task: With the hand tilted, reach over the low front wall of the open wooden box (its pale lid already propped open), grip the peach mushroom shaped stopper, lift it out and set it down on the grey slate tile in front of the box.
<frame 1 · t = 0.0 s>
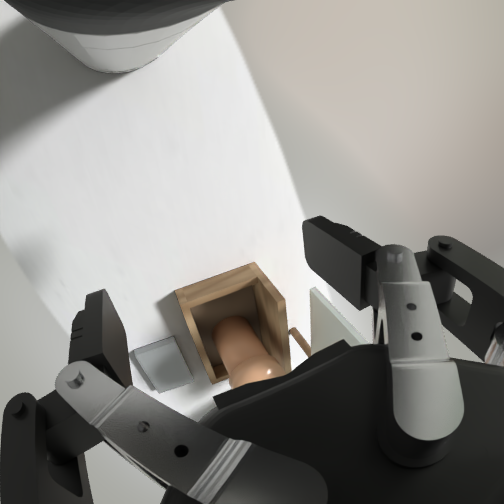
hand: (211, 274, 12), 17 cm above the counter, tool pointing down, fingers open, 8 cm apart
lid: (335, 364, 30), point 12 cm above the counter
tile: (164, 364, 36), on the counter
open wooden box: (227, 322, 37), on the counter
peach mushroom shaped stopper: (231, 331, 37), point 1 cm above the counter, touching open wooden box
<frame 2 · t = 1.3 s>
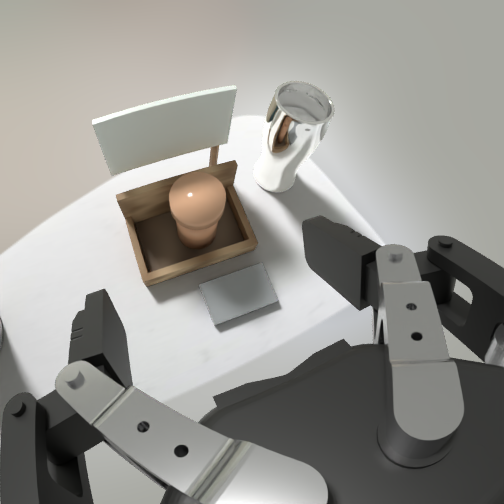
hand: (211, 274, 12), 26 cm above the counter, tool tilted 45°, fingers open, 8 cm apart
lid: (167, 131, 30), point 12 cm above the counter
tile: (238, 294, 38), on the counter
open wooden box: (189, 235, 39), on the counter
beer glass: (273, 175, 45), on the counter
peach mushroom shaped stopper: (196, 230, 39), point 1 cm above the counter, touching open wooden box
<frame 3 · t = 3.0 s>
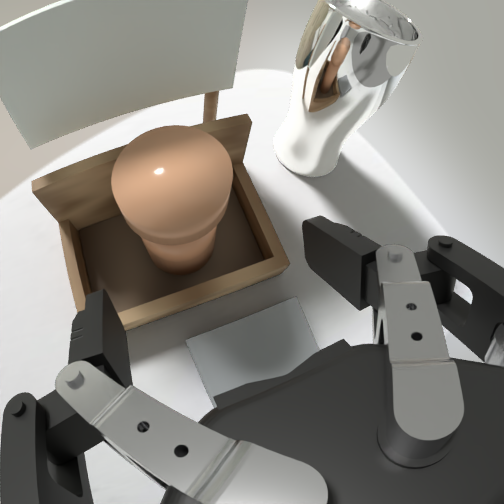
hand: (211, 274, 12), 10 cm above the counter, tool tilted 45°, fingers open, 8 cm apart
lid: (119, 55, 14), point 12 cm above the counter
tile: (254, 353, 21), on the counter
open wooden box: (167, 249, 22), on the counter
beer glass: (305, 150, 28), on the counter
peach mushroom shaped stopper: (180, 242, 22), point 1 cm above the counter, touching open wooden box
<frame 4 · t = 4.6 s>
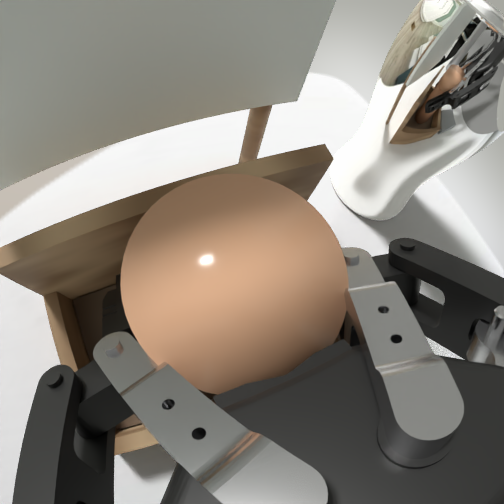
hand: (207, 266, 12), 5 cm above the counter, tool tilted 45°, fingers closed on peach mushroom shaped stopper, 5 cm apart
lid: (124, 39, 7), point 12 cm above the counter
open wooden box: (199, 329, 16), on the counter
beer glass: (367, 183, 21), on the counter
peach mushroom shaped stopper: (218, 321, 16), point 1 cm above the counter, touching open wooden box, gripper
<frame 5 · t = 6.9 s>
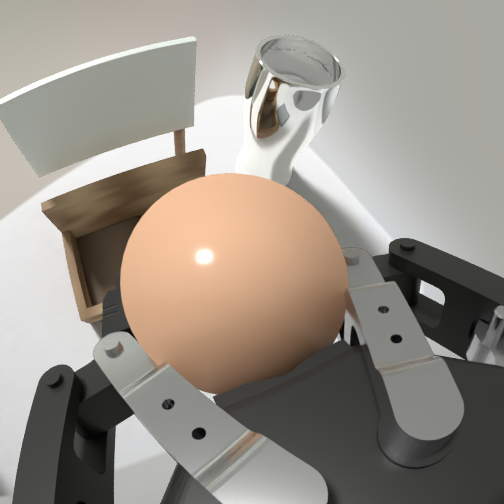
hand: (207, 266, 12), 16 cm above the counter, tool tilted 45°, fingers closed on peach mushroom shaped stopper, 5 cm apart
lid: (101, 110, 19), point 12 cm above the counter
open wooden box: (145, 253, 28), on the counter
beer glass: (262, 170, 33), on the counter
peach mushroom shaped stopper: (218, 321, 16), point 12 cm above the counter, touching gripper
when the fingers open (6 cm above the counter, at t = 9.1 s): peach mushroom shaped stopper drops 1 cm, resting on tile.
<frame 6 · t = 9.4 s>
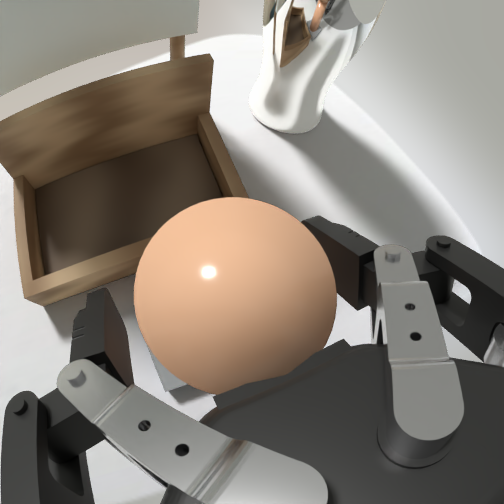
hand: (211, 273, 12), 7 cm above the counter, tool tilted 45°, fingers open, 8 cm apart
tile: (216, 325, 18), on the counter
open wooden box: (124, 206, 19), on the counter
beer glass: (284, 108, 24), on the counter
peach mushroom shaped stopper: (219, 324, 17), point 1 cm above the counter, touching tile
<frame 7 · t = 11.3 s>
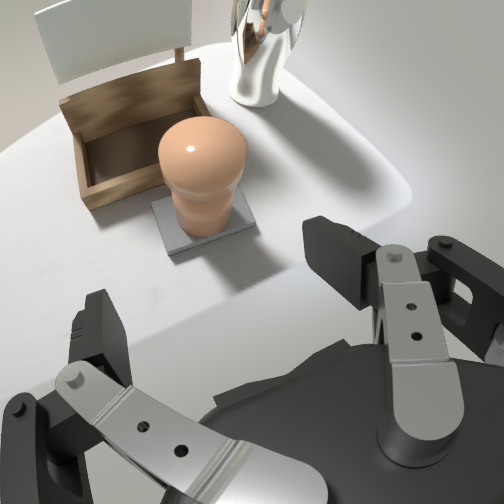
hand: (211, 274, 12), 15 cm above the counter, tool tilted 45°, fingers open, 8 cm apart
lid: (117, 25, 21), point 12 cm above the counter
tile: (202, 216, 29), on the counter
open wooden box: (146, 151, 30), on the counter
beer glass: (253, 92, 35), on the counter
peach mushroom shaped stopper: (203, 211, 28), point 1 cm above the counter, touching tile
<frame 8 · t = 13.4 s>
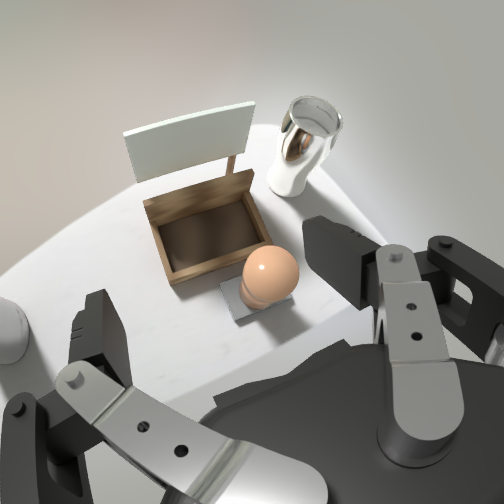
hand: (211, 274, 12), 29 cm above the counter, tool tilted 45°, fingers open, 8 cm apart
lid: (191, 142, 34), point 12 cm above the counter
tile: (255, 291, 41), on the counter
open wooden box: (209, 237, 43), on the counter
beer glass: (285, 181, 48), on the counter
peach mushroom shaped stopper: (257, 290, 41), point 1 cm above the counter, touching tile
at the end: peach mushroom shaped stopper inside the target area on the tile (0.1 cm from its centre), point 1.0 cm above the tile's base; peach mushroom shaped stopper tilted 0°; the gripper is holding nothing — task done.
